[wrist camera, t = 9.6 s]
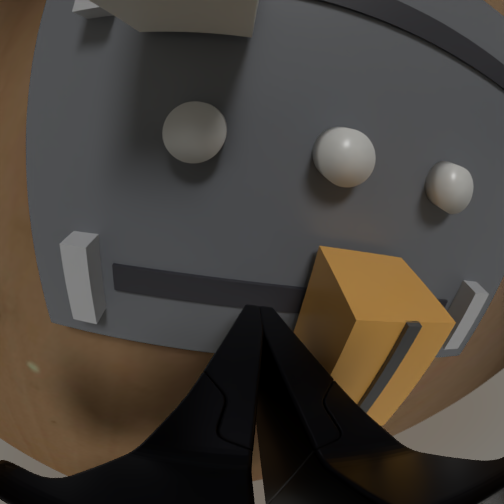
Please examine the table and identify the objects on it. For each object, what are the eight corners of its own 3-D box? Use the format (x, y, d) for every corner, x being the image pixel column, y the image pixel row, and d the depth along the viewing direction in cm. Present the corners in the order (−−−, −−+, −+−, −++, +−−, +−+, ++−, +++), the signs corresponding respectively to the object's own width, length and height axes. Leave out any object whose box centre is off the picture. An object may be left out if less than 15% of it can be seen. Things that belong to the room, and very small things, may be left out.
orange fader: (401, 257, 9) (458, 326, 6) (357, 355, 11) (385, 428, 8) (319, 245, 9) (358, 324, 6) (286, 353, 11) (299, 435, 8)
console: (530, 61, 7) (565, 64, 5) (447, 337, 14) (467, 367, 12) (90, -57, 5) (62, -80, 3) (65, 302, 12) (41, 336, 10)
